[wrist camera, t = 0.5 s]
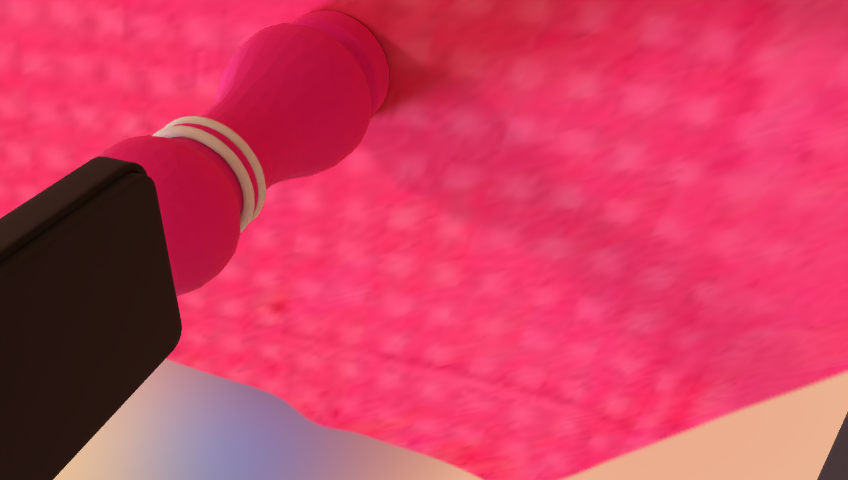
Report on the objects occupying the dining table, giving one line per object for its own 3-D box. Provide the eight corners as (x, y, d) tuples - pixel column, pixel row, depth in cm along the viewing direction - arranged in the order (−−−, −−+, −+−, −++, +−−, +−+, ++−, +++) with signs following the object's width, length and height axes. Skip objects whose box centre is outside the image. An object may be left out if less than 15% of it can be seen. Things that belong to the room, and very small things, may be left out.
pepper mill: (363, 155, 44) (148, 399, 28) (255, 81, 43) (-23, 285, 28) (423, 53, 39) (208, 274, 23) (303, -30, 39) (5, 137, 23)
